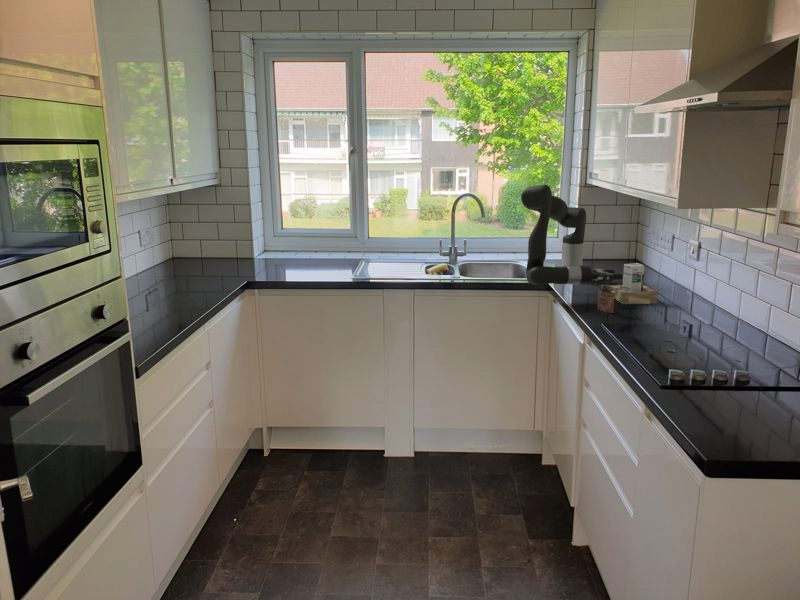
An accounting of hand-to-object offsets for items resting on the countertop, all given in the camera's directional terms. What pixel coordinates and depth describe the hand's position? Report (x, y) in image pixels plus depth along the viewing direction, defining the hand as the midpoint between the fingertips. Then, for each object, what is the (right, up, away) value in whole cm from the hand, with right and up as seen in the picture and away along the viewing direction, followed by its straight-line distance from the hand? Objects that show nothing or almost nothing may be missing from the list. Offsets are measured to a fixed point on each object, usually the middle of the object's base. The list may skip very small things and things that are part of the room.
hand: (617, 274), depth 250 cm
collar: (+7, -10, +3) cm, 12 cm away
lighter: (-10, -15, -14) cm, 23 cm away
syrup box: (+7, -10, +3) cm, 13 cm away
